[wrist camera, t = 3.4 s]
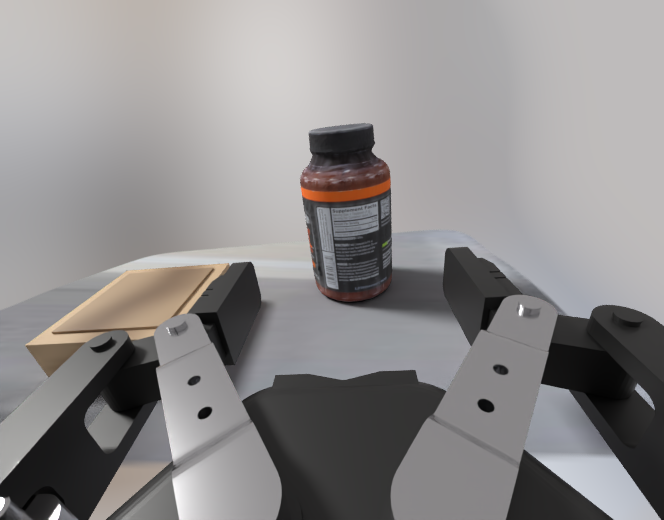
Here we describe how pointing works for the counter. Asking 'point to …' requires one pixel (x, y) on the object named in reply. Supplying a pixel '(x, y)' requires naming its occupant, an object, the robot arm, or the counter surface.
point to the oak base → (125, 309)
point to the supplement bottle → (348, 213)
